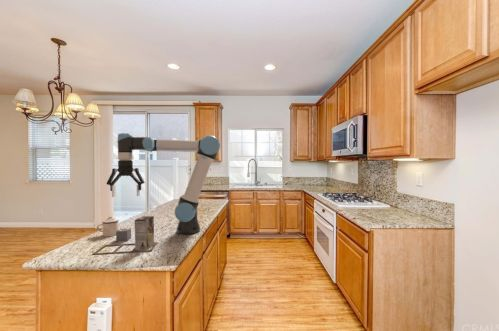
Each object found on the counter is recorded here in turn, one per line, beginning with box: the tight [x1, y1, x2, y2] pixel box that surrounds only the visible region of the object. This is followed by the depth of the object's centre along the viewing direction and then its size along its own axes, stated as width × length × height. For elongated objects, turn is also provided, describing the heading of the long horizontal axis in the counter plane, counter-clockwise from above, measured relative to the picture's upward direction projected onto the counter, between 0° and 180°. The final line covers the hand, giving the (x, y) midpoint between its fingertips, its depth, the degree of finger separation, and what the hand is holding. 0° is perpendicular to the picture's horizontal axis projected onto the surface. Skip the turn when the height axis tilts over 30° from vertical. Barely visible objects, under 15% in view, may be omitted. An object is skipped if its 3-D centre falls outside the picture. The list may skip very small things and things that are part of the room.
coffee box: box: [134, 215, 155, 251], centre depth 125 cm, size 9×6×16 cm
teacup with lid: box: [96, 215, 120, 238], centre depth 148 cm, size 12×9×12 cm
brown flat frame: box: [92, 241, 158, 256], centre depth 124 cm, size 28×13×1 cm, turn 98°
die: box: [115, 227, 132, 243], centre depth 138 cm, size 6×6×6 cm
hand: (126, 196), depth 136 cm, fingers open, 13 cm apart
